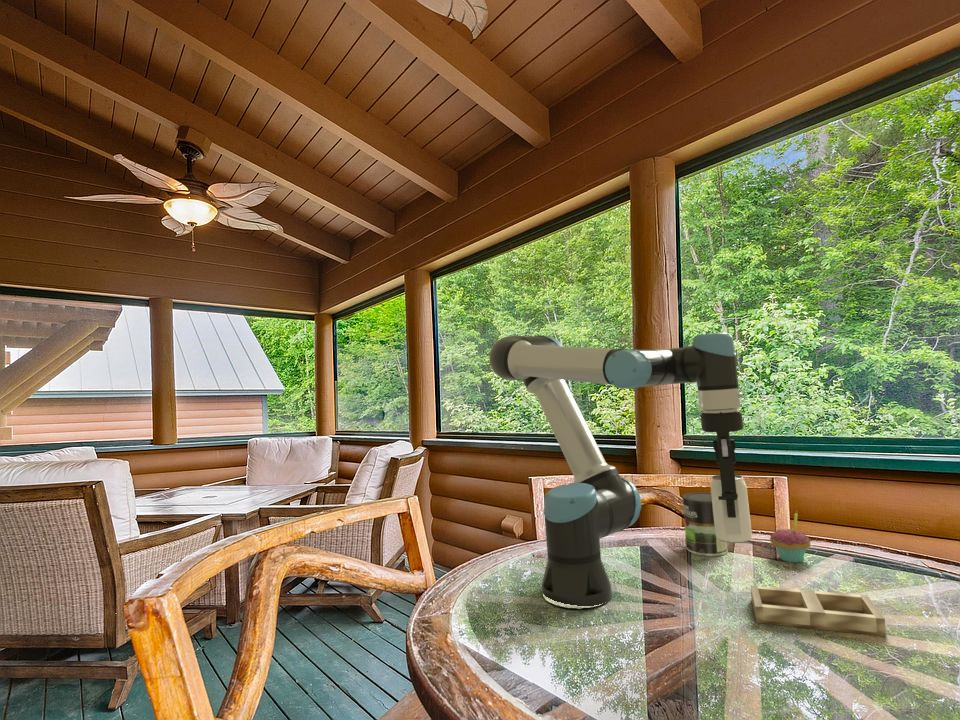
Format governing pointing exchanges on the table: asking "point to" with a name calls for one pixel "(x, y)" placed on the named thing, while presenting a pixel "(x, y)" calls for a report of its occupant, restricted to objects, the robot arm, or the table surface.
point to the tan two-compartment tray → (817, 610)
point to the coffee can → (701, 525)
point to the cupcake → (790, 543)
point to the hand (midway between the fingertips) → (732, 528)
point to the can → (719, 515)
